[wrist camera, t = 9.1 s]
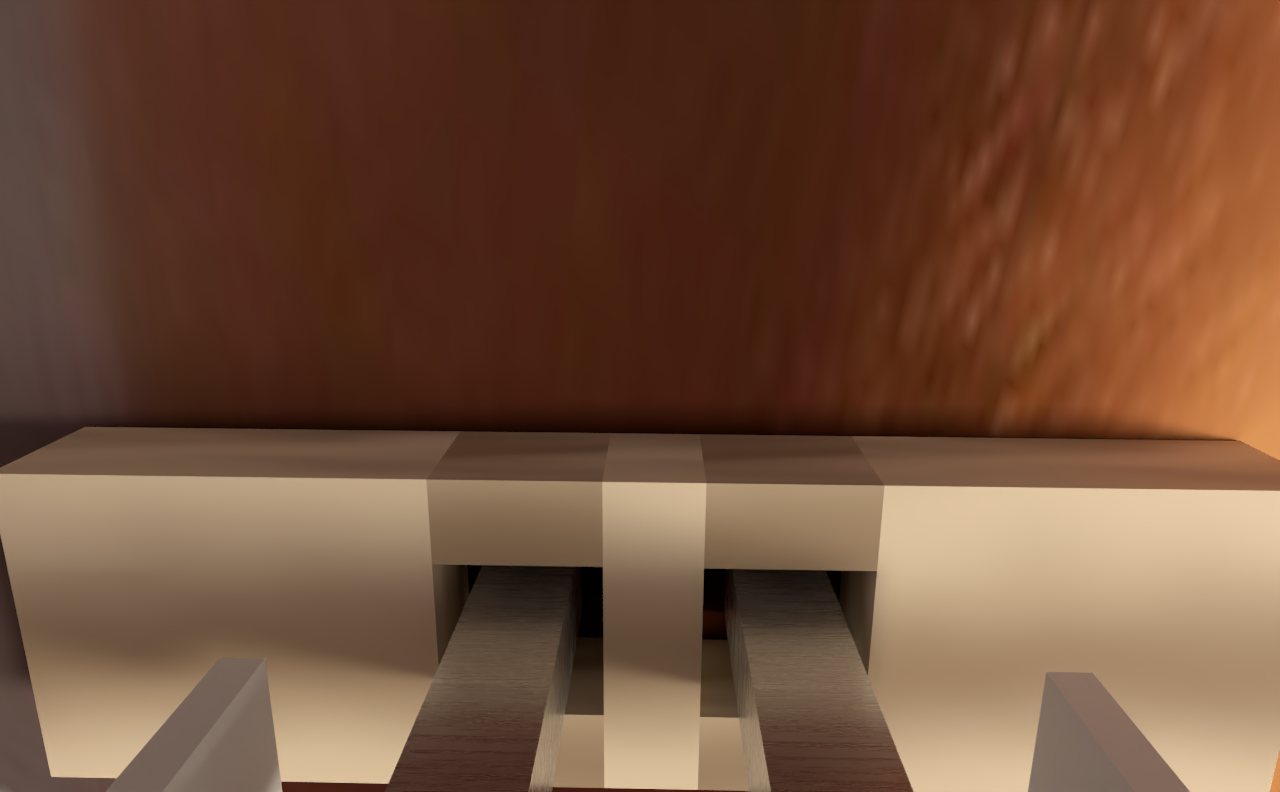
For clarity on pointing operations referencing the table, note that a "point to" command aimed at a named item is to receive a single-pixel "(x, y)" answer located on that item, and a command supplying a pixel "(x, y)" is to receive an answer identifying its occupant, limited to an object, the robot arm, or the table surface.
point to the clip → (542, 666)
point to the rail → (650, 587)
